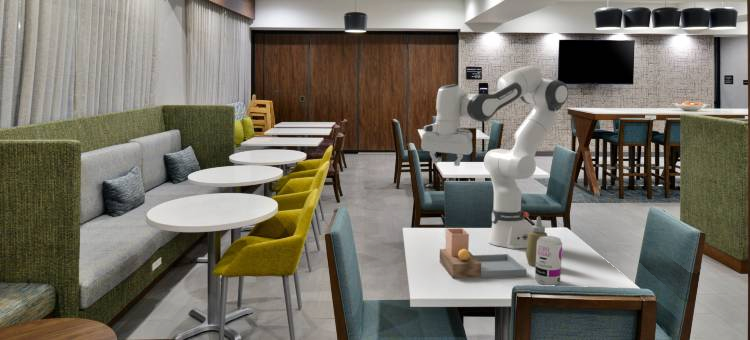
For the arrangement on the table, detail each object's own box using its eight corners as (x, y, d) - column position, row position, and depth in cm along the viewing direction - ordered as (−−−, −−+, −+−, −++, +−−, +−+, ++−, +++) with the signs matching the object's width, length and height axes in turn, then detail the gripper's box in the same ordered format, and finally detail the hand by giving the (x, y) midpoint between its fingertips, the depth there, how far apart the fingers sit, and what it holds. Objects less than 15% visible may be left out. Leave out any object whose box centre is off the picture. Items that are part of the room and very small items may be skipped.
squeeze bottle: (545, 269, 206) (547, 220, 203) (522, 265, 210) (525, 217, 207) (550, 263, 213) (552, 216, 210) (528, 259, 217) (530, 213, 214)
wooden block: (465, 261, 215) (465, 248, 214) (480, 277, 197) (481, 263, 197) (439, 262, 214) (439, 249, 213) (452, 278, 196) (453, 264, 195)
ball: (467, 258, 202) (468, 247, 201) (471, 261, 198) (471, 250, 198) (456, 258, 202) (457, 247, 201) (459, 262, 198) (460, 250, 197)
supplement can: (559, 279, 196) (562, 236, 194) (560, 287, 188) (562, 243, 186) (535, 276, 199) (537, 234, 196) (534, 284, 191) (536, 240, 188)
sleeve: (461, 249, 213) (462, 228, 212) (468, 255, 205) (468, 233, 204) (445, 249, 212) (446, 228, 211) (451, 256, 204) (451, 234, 203)
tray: (507, 260, 216) (507, 253, 216) (526, 276, 199) (526, 269, 198) (466, 261, 214) (466, 255, 214) (481, 278, 196) (481, 271, 196)
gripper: (476, 129, 212) (474, 166, 214) (428, 126, 224) (426, 161, 226) (468, 130, 207) (466, 168, 209) (419, 126, 218) (418, 162, 220)
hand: (445, 164), depth 217 cm, fingers open, 8 cm apart
